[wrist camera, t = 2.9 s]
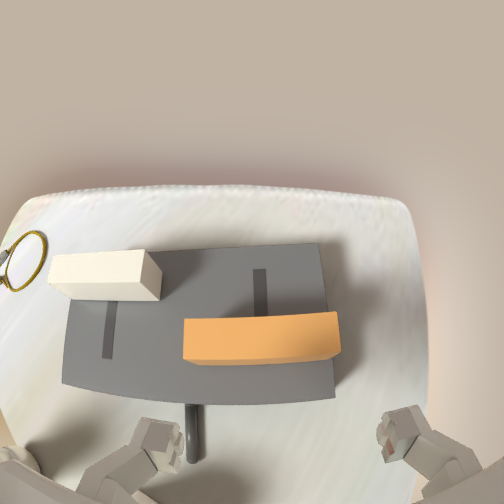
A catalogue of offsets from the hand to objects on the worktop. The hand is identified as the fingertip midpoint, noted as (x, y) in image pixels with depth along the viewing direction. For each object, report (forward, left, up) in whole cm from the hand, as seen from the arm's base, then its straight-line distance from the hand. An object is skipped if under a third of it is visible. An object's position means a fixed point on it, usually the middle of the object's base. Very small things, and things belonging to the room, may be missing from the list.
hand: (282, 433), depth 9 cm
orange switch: (+5, -1, -13) cm, 14 cm away
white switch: (+16, +12, -13) cm, 23 cm away
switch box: (+7, +6, -18) cm, 20 cm away
